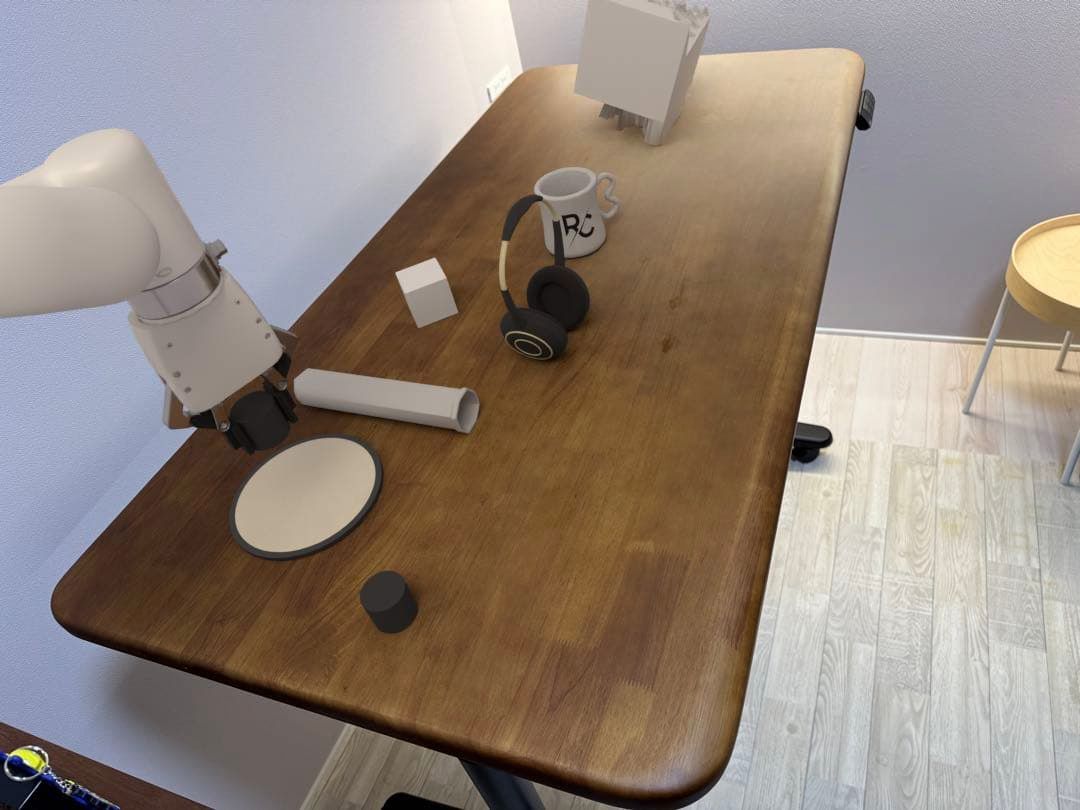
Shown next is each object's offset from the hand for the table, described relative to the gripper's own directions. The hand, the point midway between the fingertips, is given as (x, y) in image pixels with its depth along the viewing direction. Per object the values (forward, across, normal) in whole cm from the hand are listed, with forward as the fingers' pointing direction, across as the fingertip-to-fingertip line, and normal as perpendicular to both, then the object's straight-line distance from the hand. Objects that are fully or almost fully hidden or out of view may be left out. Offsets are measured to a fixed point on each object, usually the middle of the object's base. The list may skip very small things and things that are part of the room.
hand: (267, 430), depth 77 cm
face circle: (+14, -1, -4) cm, 14 cm away
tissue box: (+14, -88, -23) cm, 92 cm away
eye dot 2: (+14, +2, +17) cm, 22 cm away
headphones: (+14, -36, +2) cm, 38 cm away
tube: (+14, -15, -7) cm, 21 cm away
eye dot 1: (+1, 0, 0) cm, 1 cm away
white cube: (+14, -32, -18) cm, 39 cm away
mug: (+14, -56, -10) cm, 58 cm away
